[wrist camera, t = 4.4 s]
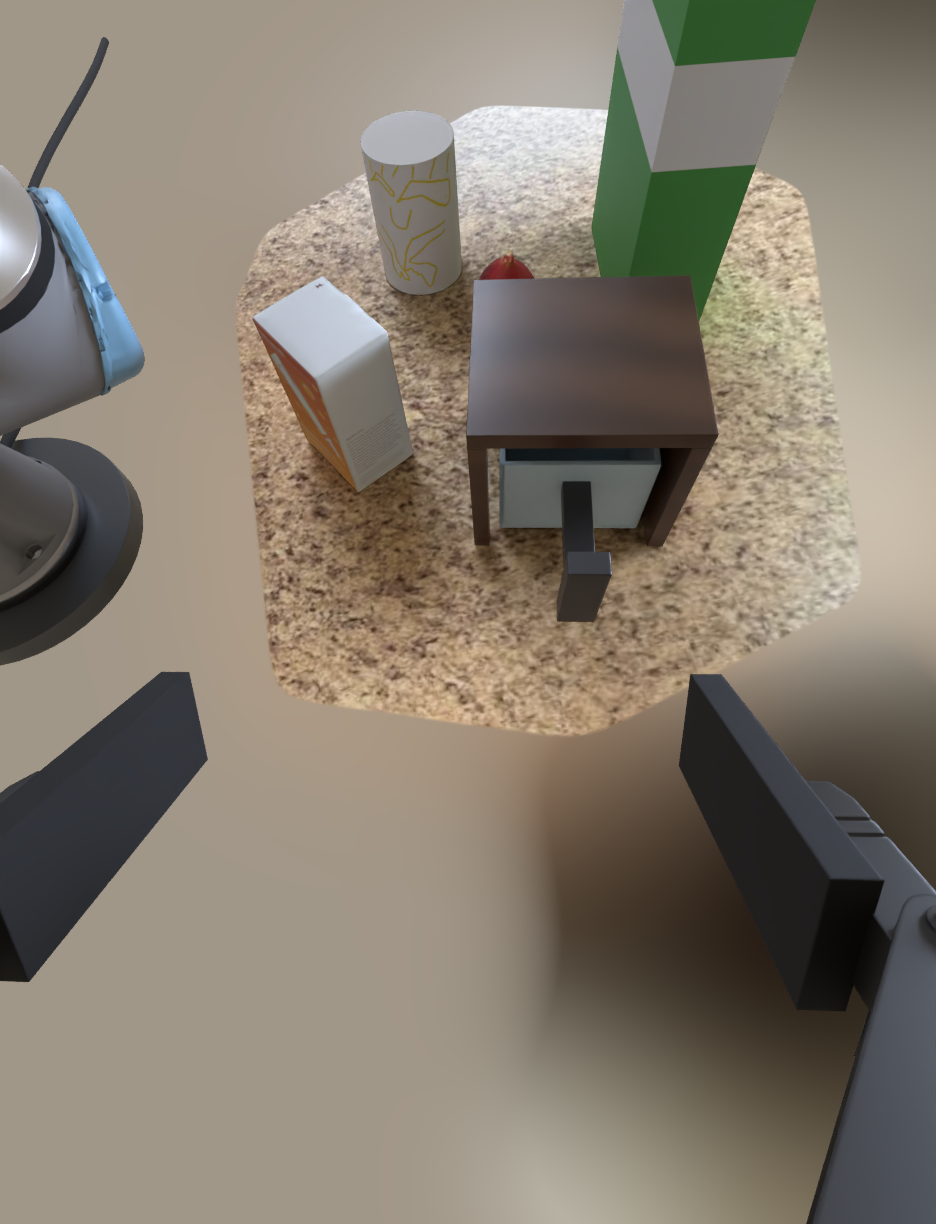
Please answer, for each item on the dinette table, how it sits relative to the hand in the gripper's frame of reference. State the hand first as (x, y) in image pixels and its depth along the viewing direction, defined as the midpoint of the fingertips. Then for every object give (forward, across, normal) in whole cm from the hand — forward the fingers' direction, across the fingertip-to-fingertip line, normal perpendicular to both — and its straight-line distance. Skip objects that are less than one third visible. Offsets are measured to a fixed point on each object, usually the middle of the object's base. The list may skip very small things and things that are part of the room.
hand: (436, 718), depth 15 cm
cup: (+56, -6, +21) cm, 60 cm away
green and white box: (+54, +16, +18) cm, 60 cm away
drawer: (+34, +7, -2) cm, 35 cm away
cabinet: (+37, +7, +2) cm, 38 cm away
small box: (+40, -11, +4) cm, 41 cm away
